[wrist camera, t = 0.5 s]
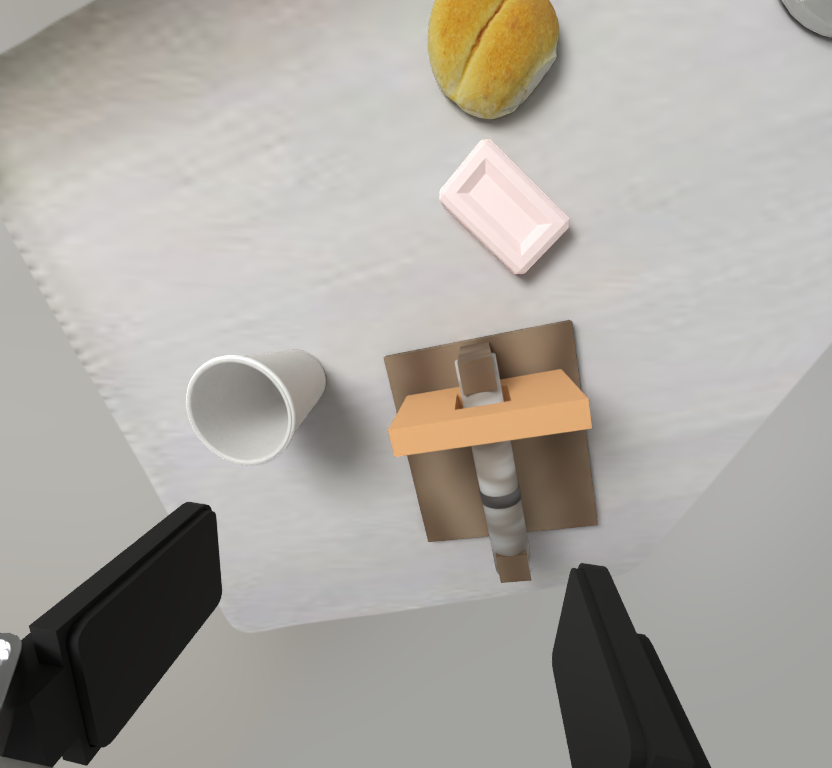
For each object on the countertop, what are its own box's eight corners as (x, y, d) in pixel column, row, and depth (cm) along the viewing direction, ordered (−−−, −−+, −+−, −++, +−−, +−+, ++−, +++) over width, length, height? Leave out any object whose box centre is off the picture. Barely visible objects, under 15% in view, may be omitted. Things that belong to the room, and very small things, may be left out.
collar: (561, 368, 32) (588, 398, 24) (564, 392, 33) (592, 428, 25) (406, 395, 35) (387, 430, 27) (411, 417, 35) (394, 456, 27)
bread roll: (482, -51, 28) (483, -103, 24) (573, 45, 28) (588, 9, 24) (404, 59, 30) (394, 27, 26) (489, 145, 31) (492, 126, 27)
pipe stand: (569, 320, 33) (596, 332, 26) (594, 518, 37) (623, 577, 30) (386, 355, 36) (363, 376, 29) (429, 535, 40) (419, 593, 33)
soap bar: (517, 277, 33) (520, 278, 31) (437, 200, 32) (434, 194, 30) (567, 225, 31) (574, 221, 29) (484, 143, 31) (485, 132, 28)
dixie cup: (356, 369, 37) (314, 402, 27) (312, 435, 39) (260, 487, 30) (281, 316, 36) (212, 332, 27) (242, 387, 39) (166, 423, 29)
